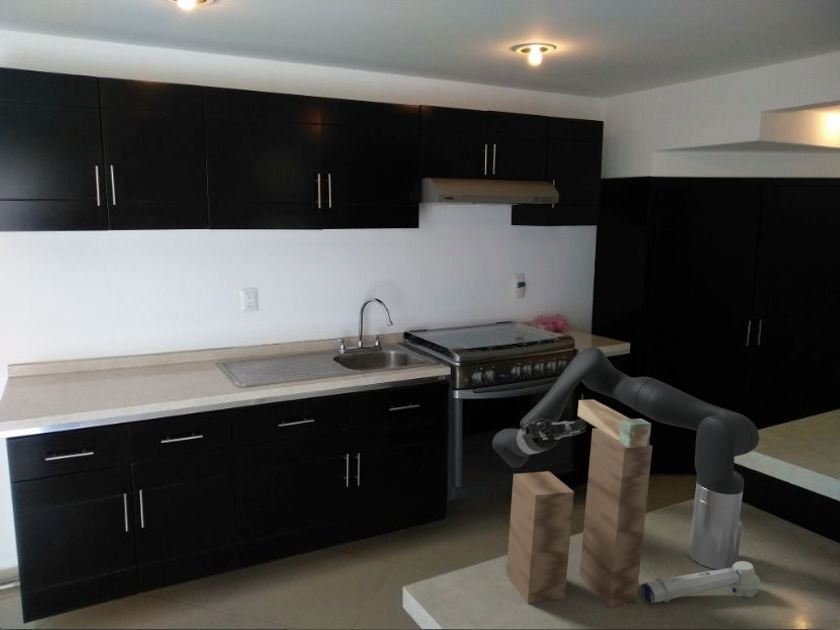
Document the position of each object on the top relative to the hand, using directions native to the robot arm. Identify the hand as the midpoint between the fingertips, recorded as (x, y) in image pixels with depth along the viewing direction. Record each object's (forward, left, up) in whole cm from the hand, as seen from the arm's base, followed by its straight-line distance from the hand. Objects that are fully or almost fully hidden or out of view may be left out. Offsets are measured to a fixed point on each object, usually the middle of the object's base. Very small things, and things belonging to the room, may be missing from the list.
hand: (567, 423), depth 141 cm
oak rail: (0, +16, +4) cm, 17 cm away
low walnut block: (+14, +16, -28) cm, 35 cm away
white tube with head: (-18, +26, -28) cm, 43 cm away
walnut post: (0, +20, -28) cm, 35 cm away
